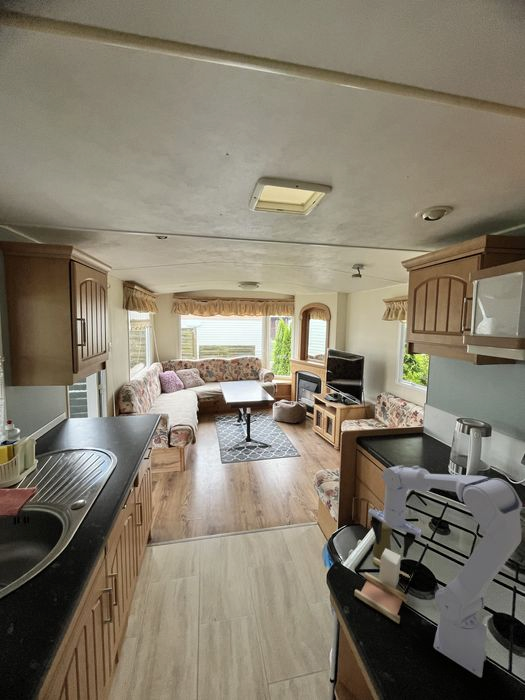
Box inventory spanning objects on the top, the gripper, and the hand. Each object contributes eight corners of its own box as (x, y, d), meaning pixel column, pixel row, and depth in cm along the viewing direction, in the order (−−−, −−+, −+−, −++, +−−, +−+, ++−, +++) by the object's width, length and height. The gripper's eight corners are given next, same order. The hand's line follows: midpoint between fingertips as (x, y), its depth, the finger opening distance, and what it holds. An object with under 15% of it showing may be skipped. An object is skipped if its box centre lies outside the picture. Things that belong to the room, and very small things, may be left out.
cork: (386, 547, 103) (388, 518, 102) (394, 561, 97) (397, 530, 96) (369, 547, 103) (371, 517, 102) (376, 561, 97) (379, 530, 96)
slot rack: (413, 582, 89) (414, 577, 89) (398, 623, 77) (399, 618, 77) (374, 561, 97) (374, 557, 97) (354, 595, 84) (354, 590, 84)
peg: (398, 579, 90) (400, 555, 89) (394, 589, 87) (396, 564, 86) (383, 571, 93) (385, 548, 92) (379, 580, 90) (380, 556, 89)
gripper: (424, 510, 86) (421, 553, 87) (374, 491, 95) (372, 530, 97) (419, 522, 81) (415, 568, 82) (366, 500, 90) (364, 542, 91)
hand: (391, 548), depth 89 cm, fingers open, 7 cm apart
